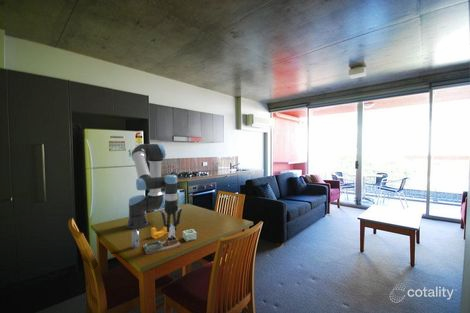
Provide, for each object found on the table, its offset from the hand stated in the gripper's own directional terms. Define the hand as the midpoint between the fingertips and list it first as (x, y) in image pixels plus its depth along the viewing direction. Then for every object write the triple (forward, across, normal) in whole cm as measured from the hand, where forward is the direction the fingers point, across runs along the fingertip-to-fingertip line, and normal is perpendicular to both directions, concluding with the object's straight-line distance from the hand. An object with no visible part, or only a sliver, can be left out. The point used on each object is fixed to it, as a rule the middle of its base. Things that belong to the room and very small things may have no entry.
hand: (171, 236), depth 132 cm
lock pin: (+2, 0, 0) cm, 2 cm away
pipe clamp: (+6, -2, +18) cm, 19 cm away
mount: (+5, -6, 0) cm, 8 cm away
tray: (+5, +12, +2) cm, 14 cm away
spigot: (+5, -20, +8) cm, 22 cm away
